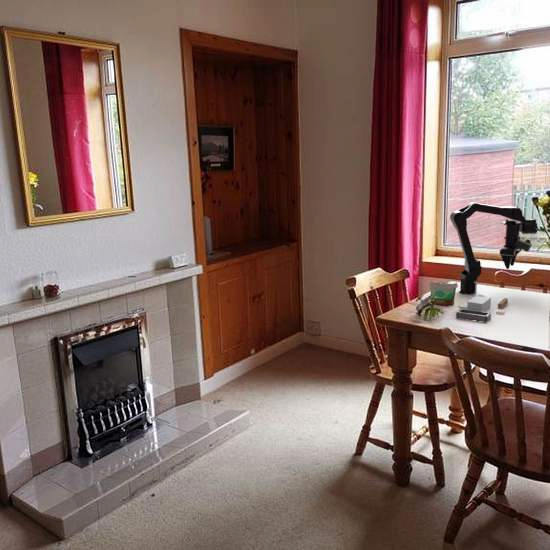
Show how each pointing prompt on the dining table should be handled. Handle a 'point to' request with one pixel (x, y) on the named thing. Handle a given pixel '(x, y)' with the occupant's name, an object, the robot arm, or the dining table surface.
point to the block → (479, 303)
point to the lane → (501, 302)
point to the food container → (443, 293)
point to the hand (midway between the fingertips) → (509, 267)
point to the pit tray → (473, 315)
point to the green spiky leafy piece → (427, 303)
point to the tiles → (496, 311)
